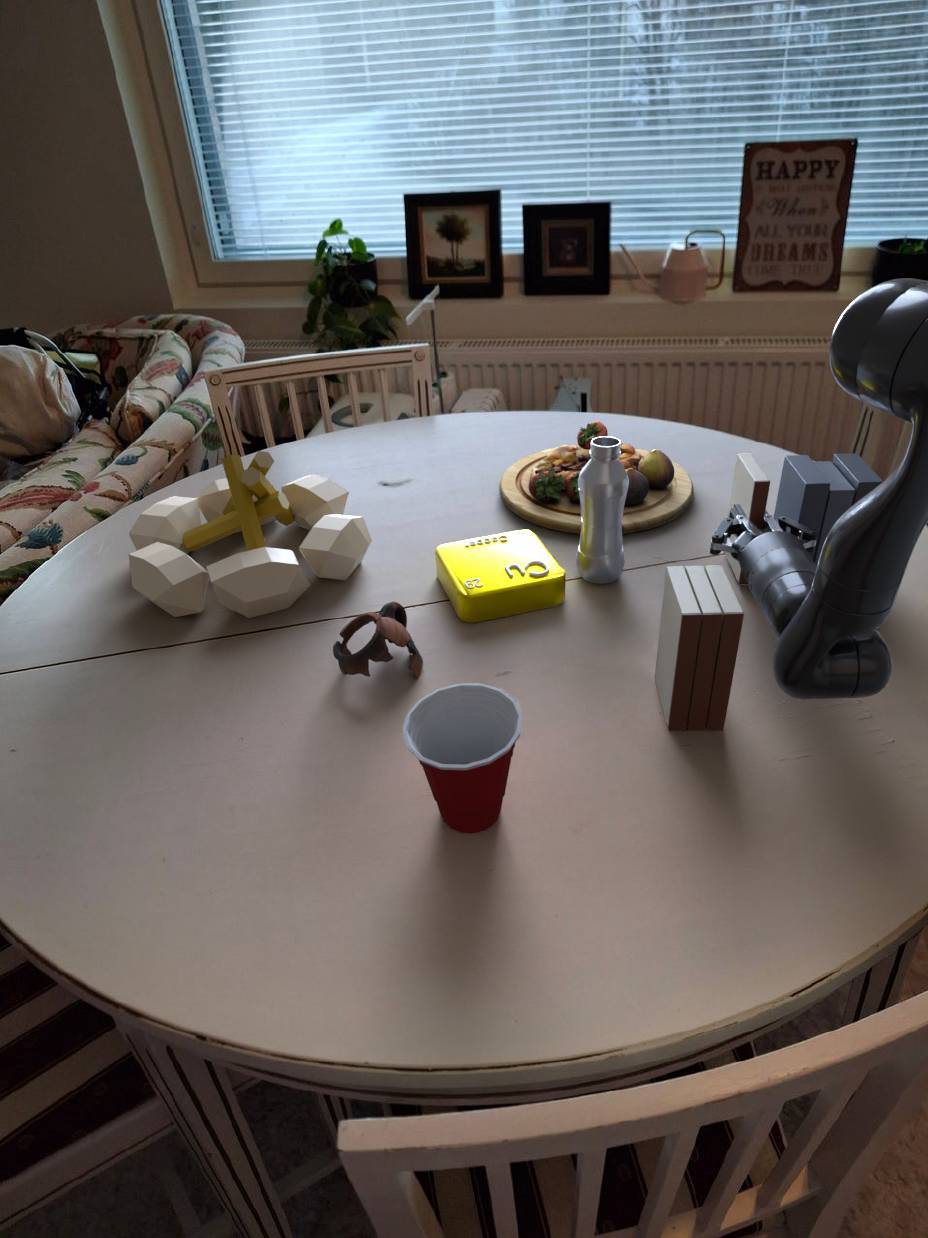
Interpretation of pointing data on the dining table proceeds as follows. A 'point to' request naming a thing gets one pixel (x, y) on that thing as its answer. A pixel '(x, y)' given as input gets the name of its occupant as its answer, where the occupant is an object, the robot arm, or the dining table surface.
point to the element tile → (499, 575)
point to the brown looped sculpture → (377, 641)
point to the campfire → (260, 571)
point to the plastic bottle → (602, 512)
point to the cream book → (748, 499)
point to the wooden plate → (552, 493)
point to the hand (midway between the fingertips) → (744, 509)
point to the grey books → (822, 491)
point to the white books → (697, 647)
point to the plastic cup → (465, 750)
